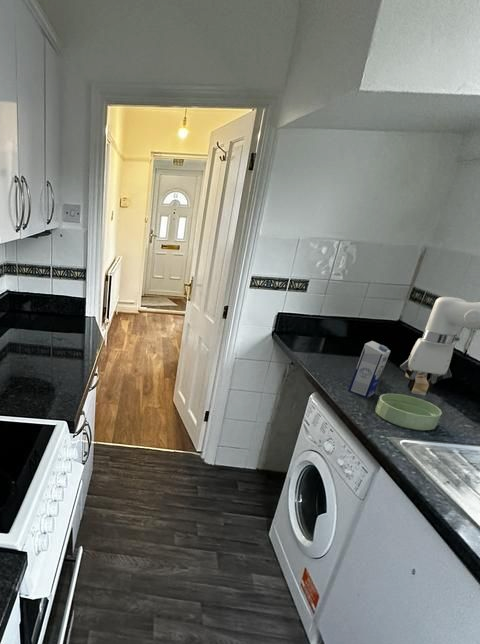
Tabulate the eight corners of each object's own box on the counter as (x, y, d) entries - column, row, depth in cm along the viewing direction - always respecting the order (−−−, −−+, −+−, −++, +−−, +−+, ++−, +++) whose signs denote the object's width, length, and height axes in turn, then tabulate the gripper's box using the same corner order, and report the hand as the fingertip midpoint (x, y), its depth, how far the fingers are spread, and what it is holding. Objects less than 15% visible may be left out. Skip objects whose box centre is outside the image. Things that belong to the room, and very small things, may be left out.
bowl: (431, 416, 143) (437, 402, 141) (439, 437, 129) (446, 421, 127) (374, 403, 151) (379, 389, 149) (375, 421, 137) (380, 406, 135)
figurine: (428, 382, 173) (440, 355, 168) (417, 383, 171) (429, 356, 166) (412, 375, 179) (423, 349, 174) (400, 376, 177) (411, 350, 172)
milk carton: (355, 388, 162) (372, 340, 154) (373, 394, 158) (392, 345, 149) (347, 392, 158) (365, 343, 150) (366, 399, 154) (385, 349, 145)
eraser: (422, 389, 138) (426, 379, 136) (425, 395, 133) (429, 384, 131) (410, 387, 139) (413, 376, 138) (411, 393, 134) (415, 382, 133)
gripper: (468, 339, 128) (446, 393, 135) (404, 330, 136) (387, 381, 143) (474, 345, 122) (450, 401, 129) (407, 335, 130) (388, 388, 137)
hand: (417, 390), depth 136 cm, fingers closed on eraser, 3 cm apart
